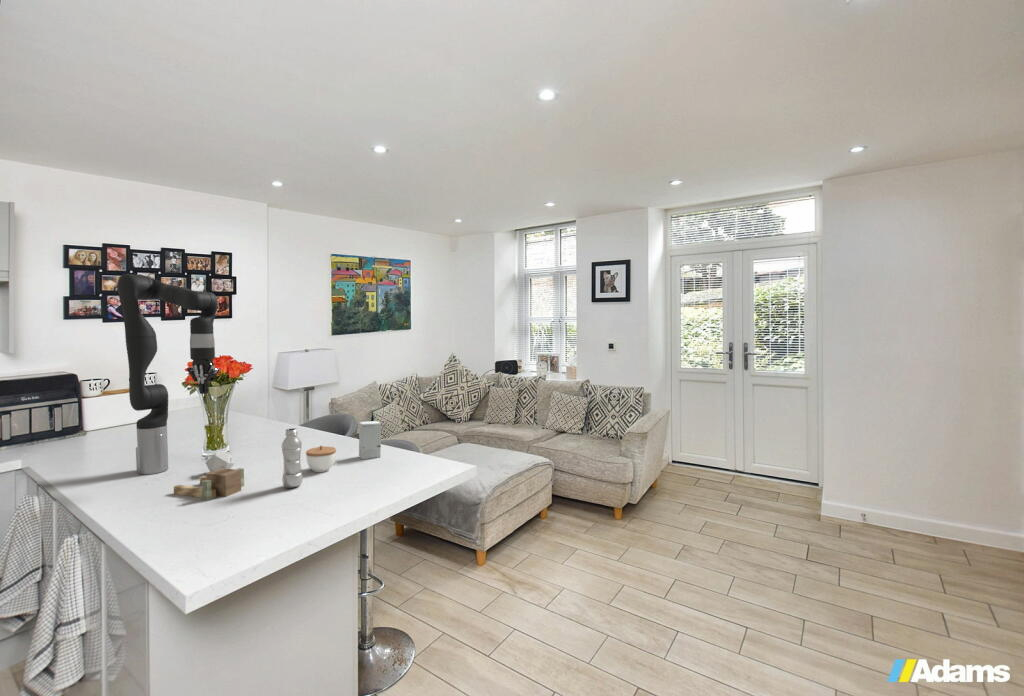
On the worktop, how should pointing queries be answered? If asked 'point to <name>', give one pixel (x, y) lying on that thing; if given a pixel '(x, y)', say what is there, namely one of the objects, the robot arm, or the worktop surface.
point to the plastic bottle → (292, 459)
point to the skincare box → (369, 439)
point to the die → (220, 461)
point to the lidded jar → (321, 458)
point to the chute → (205, 490)
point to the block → (225, 481)
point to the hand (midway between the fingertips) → (204, 393)
